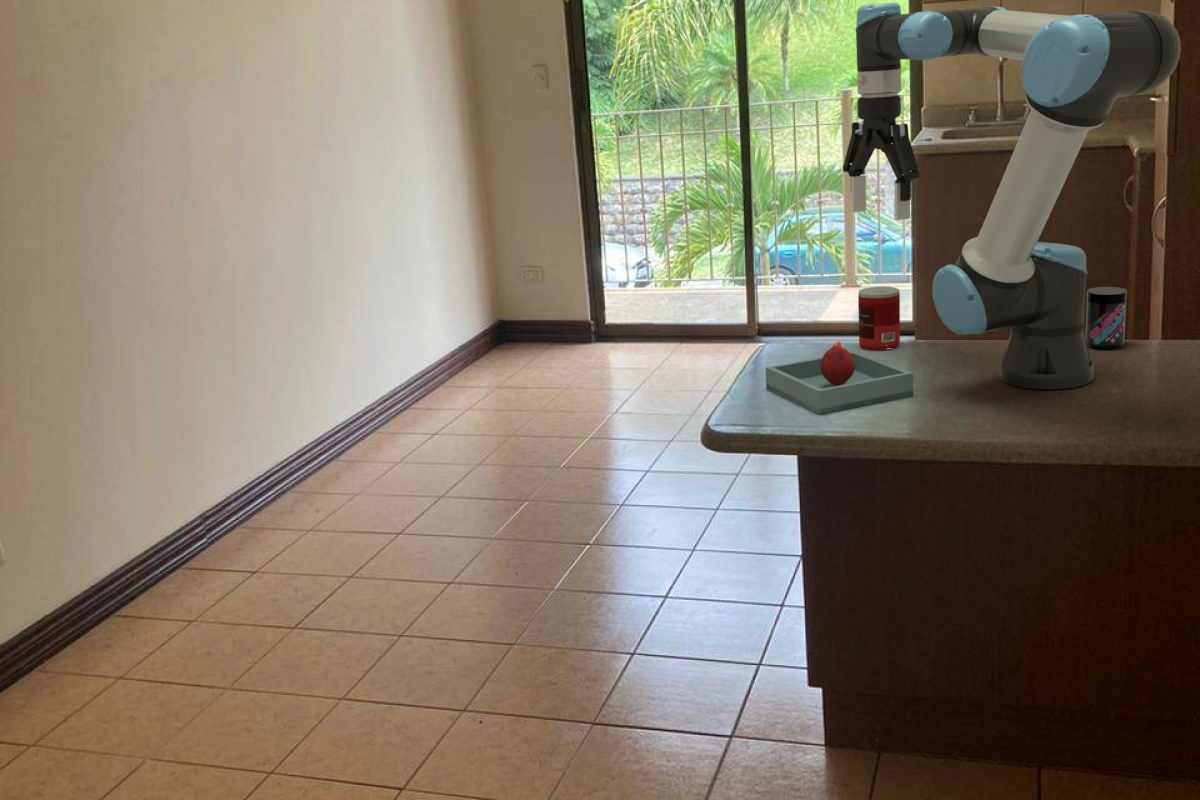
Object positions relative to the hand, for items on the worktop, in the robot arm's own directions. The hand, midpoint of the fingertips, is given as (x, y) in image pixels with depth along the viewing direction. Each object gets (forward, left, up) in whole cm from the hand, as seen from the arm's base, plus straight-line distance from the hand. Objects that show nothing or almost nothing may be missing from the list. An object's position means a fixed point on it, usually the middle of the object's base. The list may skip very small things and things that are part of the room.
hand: (880, 215), depth 220 cm
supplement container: (-18, -36, -27) cm, 49 cm away
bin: (-15, +19, -27) cm, 36 cm away
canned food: (+7, -4, -27) cm, 28 cm away
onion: (-15, +19, -26) cm, 35 cm away
